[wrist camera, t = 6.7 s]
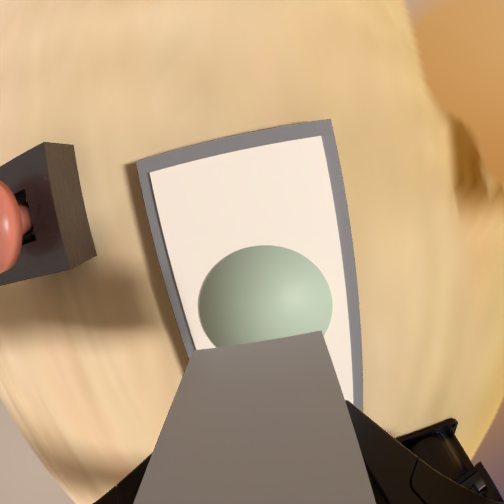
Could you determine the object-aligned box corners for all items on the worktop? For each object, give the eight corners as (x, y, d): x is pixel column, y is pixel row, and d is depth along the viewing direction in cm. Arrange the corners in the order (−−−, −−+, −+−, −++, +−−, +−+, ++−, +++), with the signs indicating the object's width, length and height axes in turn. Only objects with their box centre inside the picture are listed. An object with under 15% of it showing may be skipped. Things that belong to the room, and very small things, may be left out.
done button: (43, 165, 14) (-4, 166, 10) (61, 250, 15) (18, 269, 11) (-6, 191, 14) (-48, 197, 11) (11, 265, 15) (-29, 283, 12)
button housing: (73, 145, 16) (44, 141, 13) (96, 255, 17) (70, 269, 14) (4, 179, 16) (-24, 182, 13) (25, 273, 18) (-1, 285, 15)
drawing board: (325, 123, 15) (331, 117, 14) (358, 401, 19) (364, 414, 18) (144, 162, 16) (133, 161, 14) (219, 422, 20) (217, 437, 18)
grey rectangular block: (321, 330, 9) (388, 550, 2) (330, 421, 10) (364, 591, 3) (193, 350, 9) (114, 554, 3) (224, 435, 10) (197, 600, 3)
